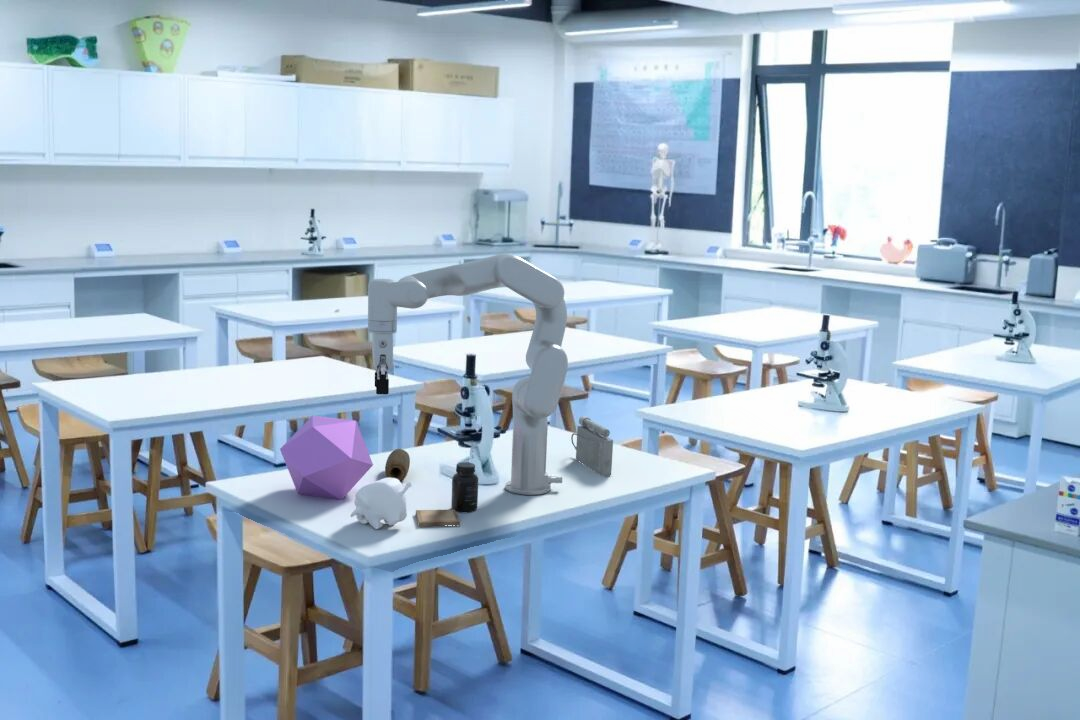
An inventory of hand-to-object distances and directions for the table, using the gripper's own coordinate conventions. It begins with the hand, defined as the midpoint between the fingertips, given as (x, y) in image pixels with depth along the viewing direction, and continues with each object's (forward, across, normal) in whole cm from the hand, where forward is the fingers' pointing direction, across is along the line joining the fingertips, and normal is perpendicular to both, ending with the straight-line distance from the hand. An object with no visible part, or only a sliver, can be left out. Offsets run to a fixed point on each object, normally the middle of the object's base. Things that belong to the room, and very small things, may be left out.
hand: (381, 390), depth 303 cm
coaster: (+29, -23, -13) cm, 39 cm away
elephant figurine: (+29, -26, +1) cm, 39 cm away
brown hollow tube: (+29, +19, -6) cm, 35 cm away
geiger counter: (+29, +28, -63) cm, 75 cm away
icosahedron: (+29, +3, +14) cm, 32 cm away
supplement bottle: (+29, -14, -21) cm, 38 cm away
